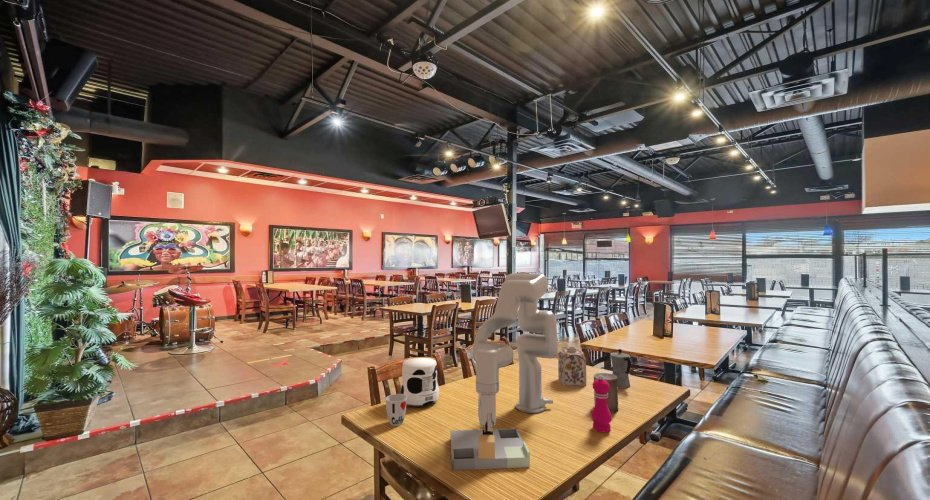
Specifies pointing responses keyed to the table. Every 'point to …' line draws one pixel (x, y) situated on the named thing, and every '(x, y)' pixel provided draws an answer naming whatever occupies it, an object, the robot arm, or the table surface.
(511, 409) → the table surface
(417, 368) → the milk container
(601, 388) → the pepper mill
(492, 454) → the block
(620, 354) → the coffeepot
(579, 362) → the decorative jar
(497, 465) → the grey sorting tray
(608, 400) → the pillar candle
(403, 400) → the cup
